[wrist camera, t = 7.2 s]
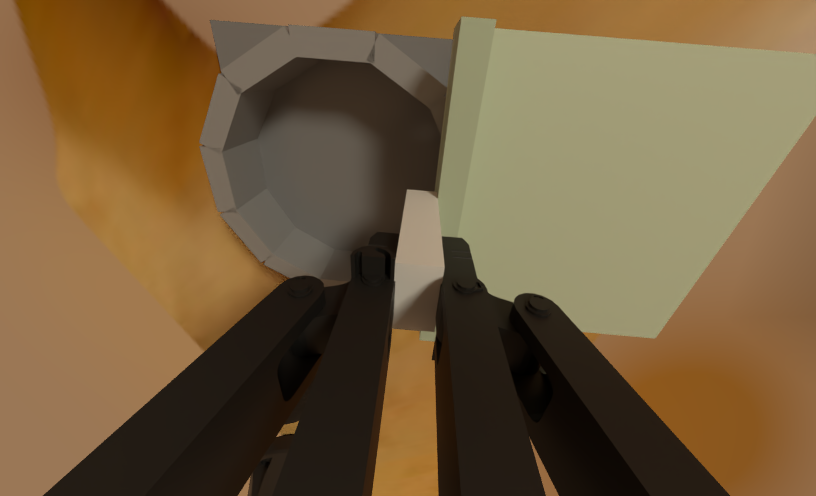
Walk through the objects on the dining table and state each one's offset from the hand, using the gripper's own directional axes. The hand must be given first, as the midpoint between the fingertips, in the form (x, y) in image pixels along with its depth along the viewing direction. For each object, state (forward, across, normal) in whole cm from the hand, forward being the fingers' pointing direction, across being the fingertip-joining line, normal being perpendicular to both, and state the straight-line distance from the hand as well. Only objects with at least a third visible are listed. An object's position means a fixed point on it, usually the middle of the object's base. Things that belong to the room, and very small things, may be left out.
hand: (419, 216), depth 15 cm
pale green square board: (+2, -9, 0) cm, 9 cm away
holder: (+7, +5, 0) cm, 9 cm away
